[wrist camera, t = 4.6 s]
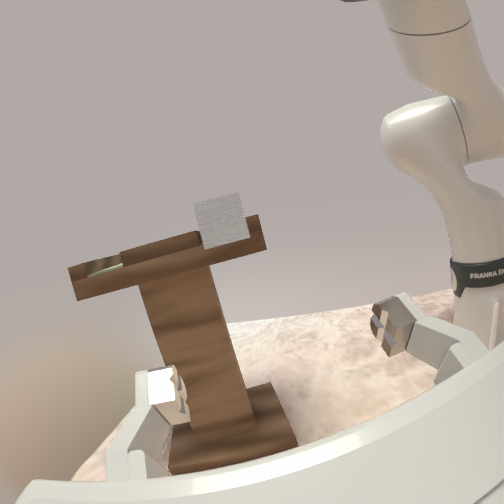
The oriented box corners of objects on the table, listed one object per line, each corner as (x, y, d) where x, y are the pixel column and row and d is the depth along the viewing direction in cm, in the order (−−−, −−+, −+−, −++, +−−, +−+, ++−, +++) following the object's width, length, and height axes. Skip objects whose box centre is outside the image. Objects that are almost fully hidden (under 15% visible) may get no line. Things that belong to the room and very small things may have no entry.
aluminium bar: (250, 237, 20) (238, 192, 20) (204, 249, 20) (192, 203, 20) (226, 235, 46) (221, 215, 46) (206, 240, 46) (201, 220, 45)
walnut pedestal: (313, 440, 33) (257, 214, 30) (158, 477, 31) (67, 267, 28) (284, 385, 49) (240, 220, 46) (168, 415, 46) (111, 256, 44)
